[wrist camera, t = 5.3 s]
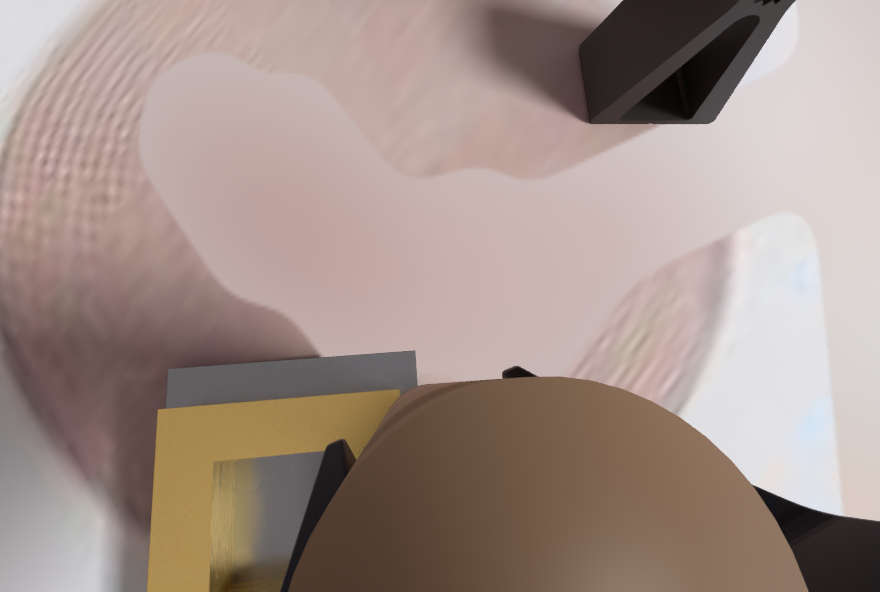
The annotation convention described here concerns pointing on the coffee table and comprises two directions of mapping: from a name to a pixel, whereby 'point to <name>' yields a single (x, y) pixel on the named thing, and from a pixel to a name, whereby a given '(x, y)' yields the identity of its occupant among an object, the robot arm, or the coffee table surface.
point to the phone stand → (673, 58)
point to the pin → (543, 500)
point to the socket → (254, 461)
